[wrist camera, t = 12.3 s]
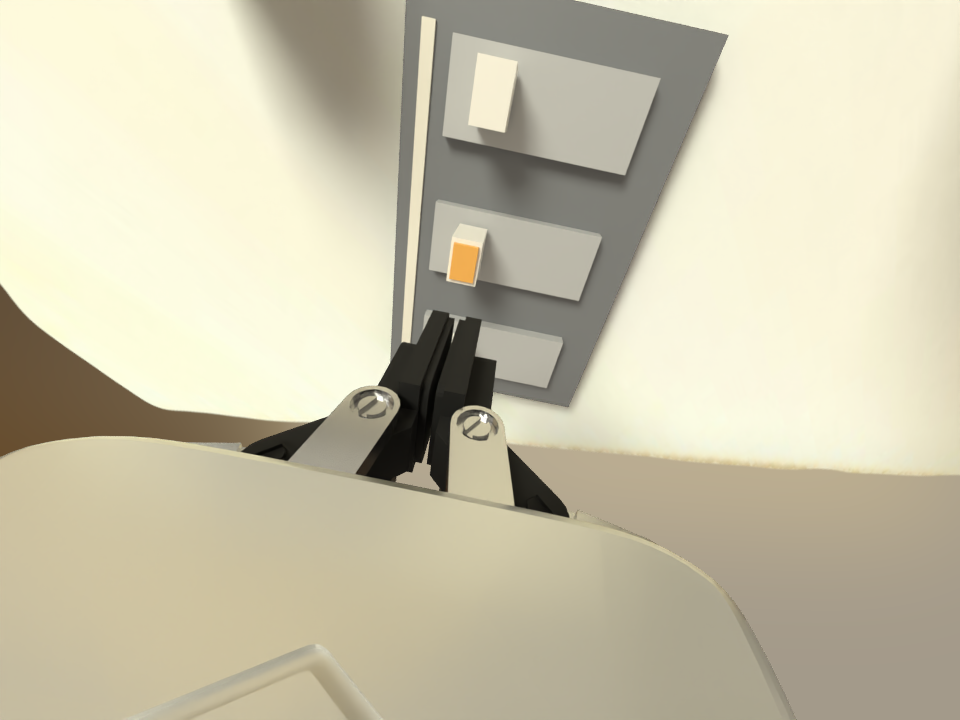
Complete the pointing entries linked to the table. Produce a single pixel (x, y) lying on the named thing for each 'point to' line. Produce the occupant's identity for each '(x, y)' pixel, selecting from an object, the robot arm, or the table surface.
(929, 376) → the table surface
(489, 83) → the block
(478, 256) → the block
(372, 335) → the table surface
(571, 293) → the breaker panel
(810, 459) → the table surface
